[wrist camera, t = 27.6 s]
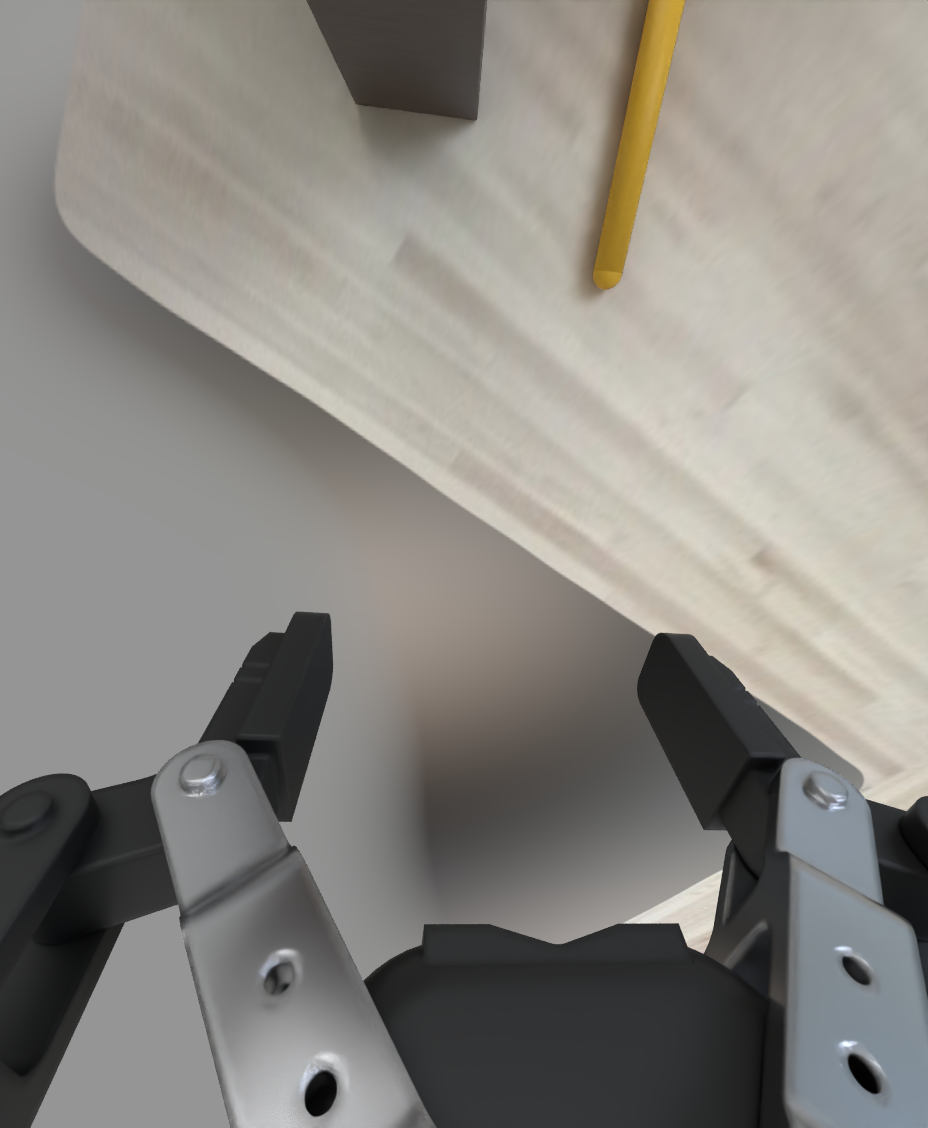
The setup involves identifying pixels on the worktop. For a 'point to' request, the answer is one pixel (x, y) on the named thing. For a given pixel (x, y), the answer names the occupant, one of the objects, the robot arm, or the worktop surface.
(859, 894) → the robot arm
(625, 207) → the hammer
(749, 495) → the worktop surface
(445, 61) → the stand
